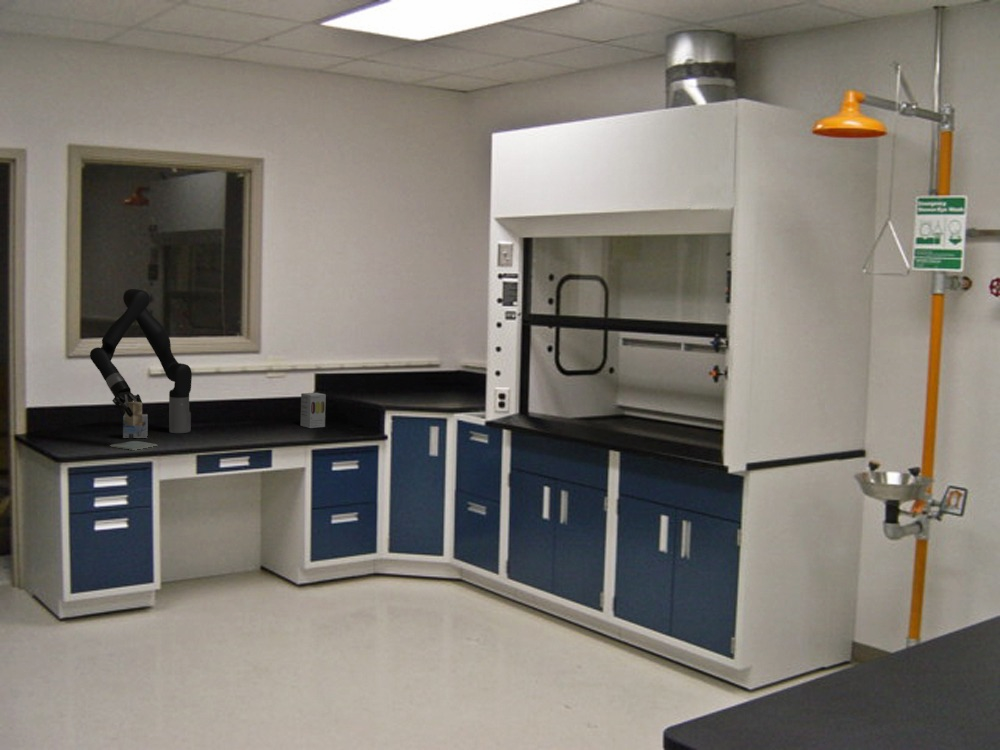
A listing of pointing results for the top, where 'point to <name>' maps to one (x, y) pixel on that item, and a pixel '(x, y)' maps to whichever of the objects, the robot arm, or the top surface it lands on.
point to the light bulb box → (136, 429)
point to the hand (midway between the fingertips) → (136, 414)
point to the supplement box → (313, 410)
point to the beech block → (134, 414)
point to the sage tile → (133, 445)
